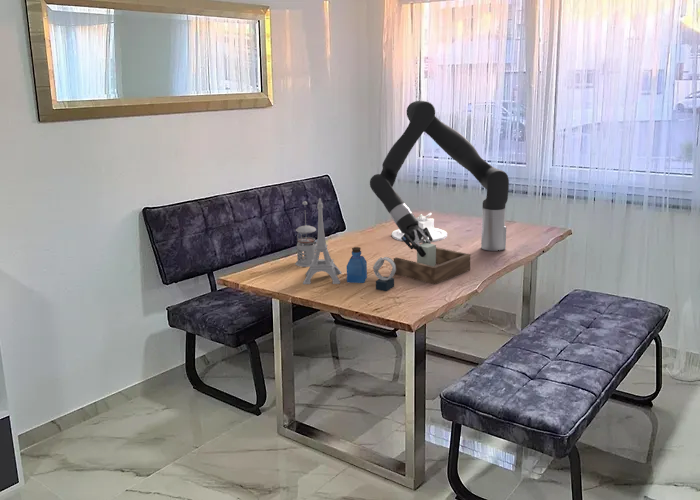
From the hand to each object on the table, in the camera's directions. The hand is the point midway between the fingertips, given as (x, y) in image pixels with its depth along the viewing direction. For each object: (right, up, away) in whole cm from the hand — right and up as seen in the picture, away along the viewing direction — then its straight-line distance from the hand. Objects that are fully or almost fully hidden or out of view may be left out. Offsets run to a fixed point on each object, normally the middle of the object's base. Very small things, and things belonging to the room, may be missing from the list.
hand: (428, 254), depth 252 cm
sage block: (-1, -4, +2) cm, 5 cm away
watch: (-17, -12, -15) cm, 26 cm away
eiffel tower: (-39, -9, -3) cm, 41 cm away
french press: (-47, -4, +16) cm, 50 cm away
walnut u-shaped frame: (+1, -7, +1) cm, 7 cm away
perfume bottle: (-27, -10, -6) cm, 29 cm away
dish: (+2, +8, +53) cm, 53 cm away
